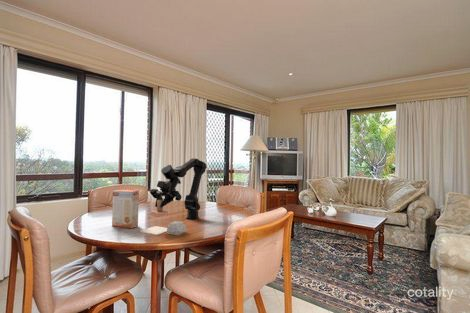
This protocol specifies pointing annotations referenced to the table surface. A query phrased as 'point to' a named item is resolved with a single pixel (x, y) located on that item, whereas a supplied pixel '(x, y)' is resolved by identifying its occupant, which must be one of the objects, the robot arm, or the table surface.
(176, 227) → the grey rock
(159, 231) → the cream mat
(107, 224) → the table surface
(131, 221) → the cracker box
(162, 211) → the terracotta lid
